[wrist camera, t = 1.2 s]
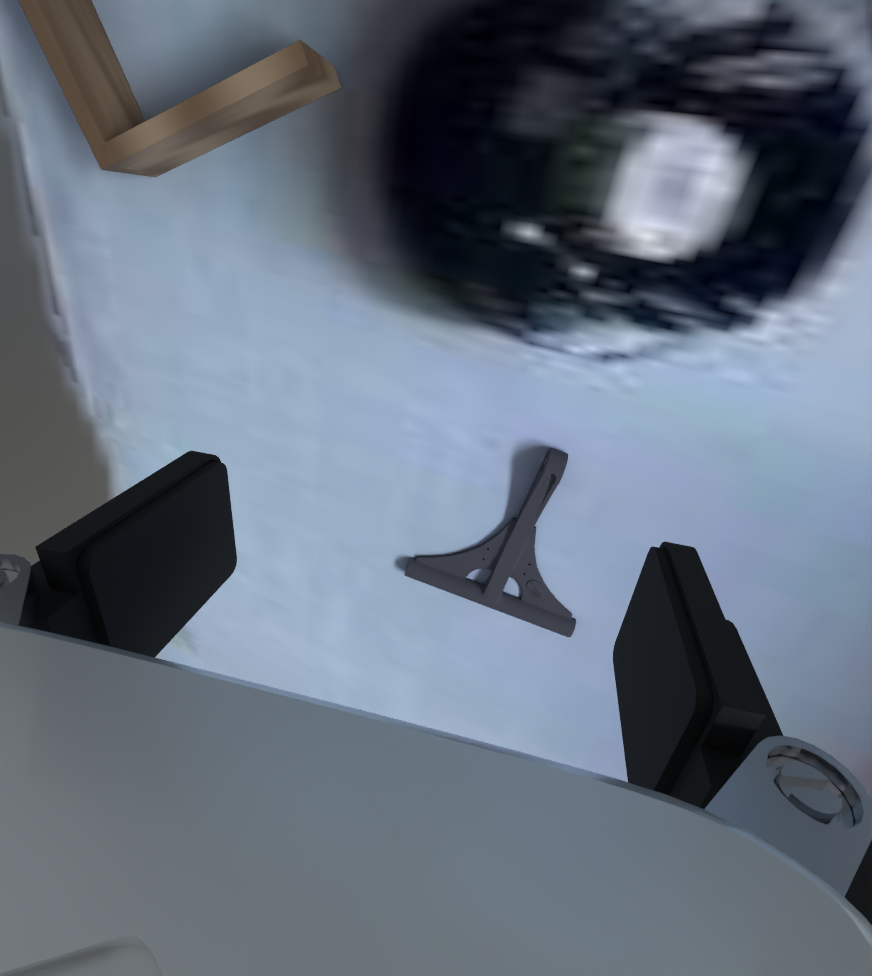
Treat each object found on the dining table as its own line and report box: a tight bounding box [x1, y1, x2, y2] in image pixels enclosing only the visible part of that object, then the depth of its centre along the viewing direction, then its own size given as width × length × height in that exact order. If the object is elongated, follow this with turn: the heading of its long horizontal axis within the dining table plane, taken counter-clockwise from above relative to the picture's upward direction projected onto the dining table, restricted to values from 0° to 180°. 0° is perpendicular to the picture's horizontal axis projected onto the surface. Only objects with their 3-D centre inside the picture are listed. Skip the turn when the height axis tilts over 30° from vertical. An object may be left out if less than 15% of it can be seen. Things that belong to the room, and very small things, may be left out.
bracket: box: [405, 448, 576, 637], centre depth 38 cm, size 14×15×3 cm
